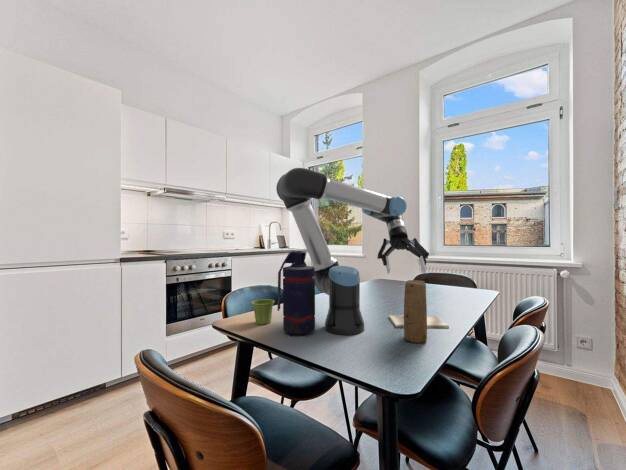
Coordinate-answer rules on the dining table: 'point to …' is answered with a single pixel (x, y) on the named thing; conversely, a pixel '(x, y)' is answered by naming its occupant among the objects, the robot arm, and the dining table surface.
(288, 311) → the grenade
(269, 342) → the dining table surface
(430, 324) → the letter board
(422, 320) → the block
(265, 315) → the plant pot
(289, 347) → the dining table surface
